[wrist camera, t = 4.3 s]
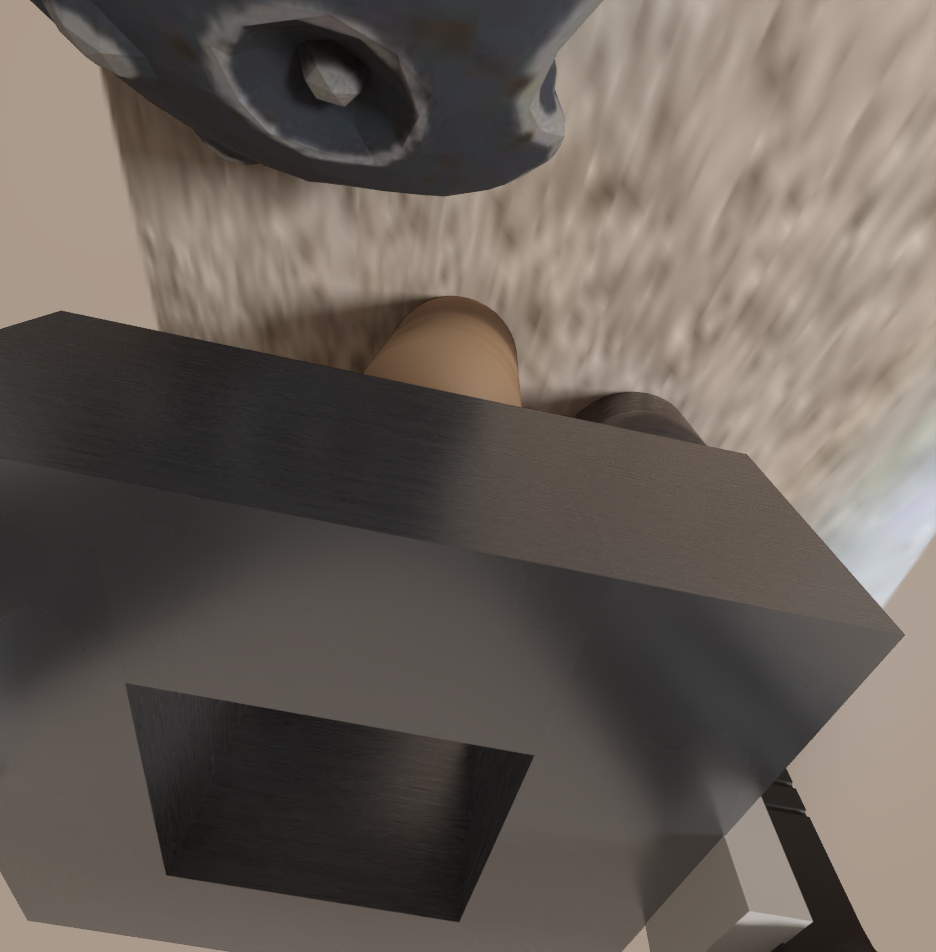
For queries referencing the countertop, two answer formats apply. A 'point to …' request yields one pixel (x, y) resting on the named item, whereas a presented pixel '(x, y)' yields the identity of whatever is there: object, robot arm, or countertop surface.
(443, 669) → the square hole block
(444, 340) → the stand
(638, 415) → the dark bottle with stopper
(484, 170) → the dark grey piece
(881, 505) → the countertop surface
